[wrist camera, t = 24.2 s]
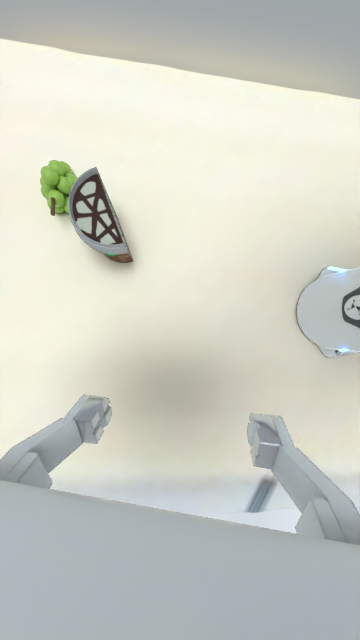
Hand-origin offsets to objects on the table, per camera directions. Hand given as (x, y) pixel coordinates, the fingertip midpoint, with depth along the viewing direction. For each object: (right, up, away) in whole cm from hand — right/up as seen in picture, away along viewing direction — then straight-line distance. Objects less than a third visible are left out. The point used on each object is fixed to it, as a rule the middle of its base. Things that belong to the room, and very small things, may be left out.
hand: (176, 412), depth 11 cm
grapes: (-21, +28, +24) cm, 43 cm away
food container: (-13, +20, +25) cm, 35 cm away
